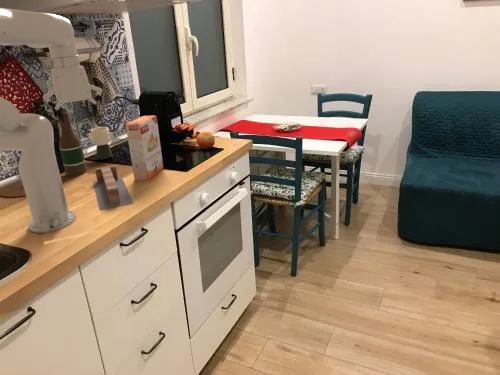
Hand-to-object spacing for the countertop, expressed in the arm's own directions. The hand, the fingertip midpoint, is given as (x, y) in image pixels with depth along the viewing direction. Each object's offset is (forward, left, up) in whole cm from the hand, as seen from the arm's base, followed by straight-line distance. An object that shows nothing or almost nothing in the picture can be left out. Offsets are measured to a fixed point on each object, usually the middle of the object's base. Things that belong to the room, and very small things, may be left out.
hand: (79, 119), depth 131 cm
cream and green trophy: (+41, -7, -25) cm, 49 cm away
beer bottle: (+26, +5, -25) cm, 37 cm away
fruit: (+30, -49, -26) cm, 63 cm away
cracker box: (+8, -20, -26) cm, 33 cm away
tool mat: (-3, -5, -25) cm, 26 cm away
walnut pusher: (-3, -5, -25) cm, 25 cm away
